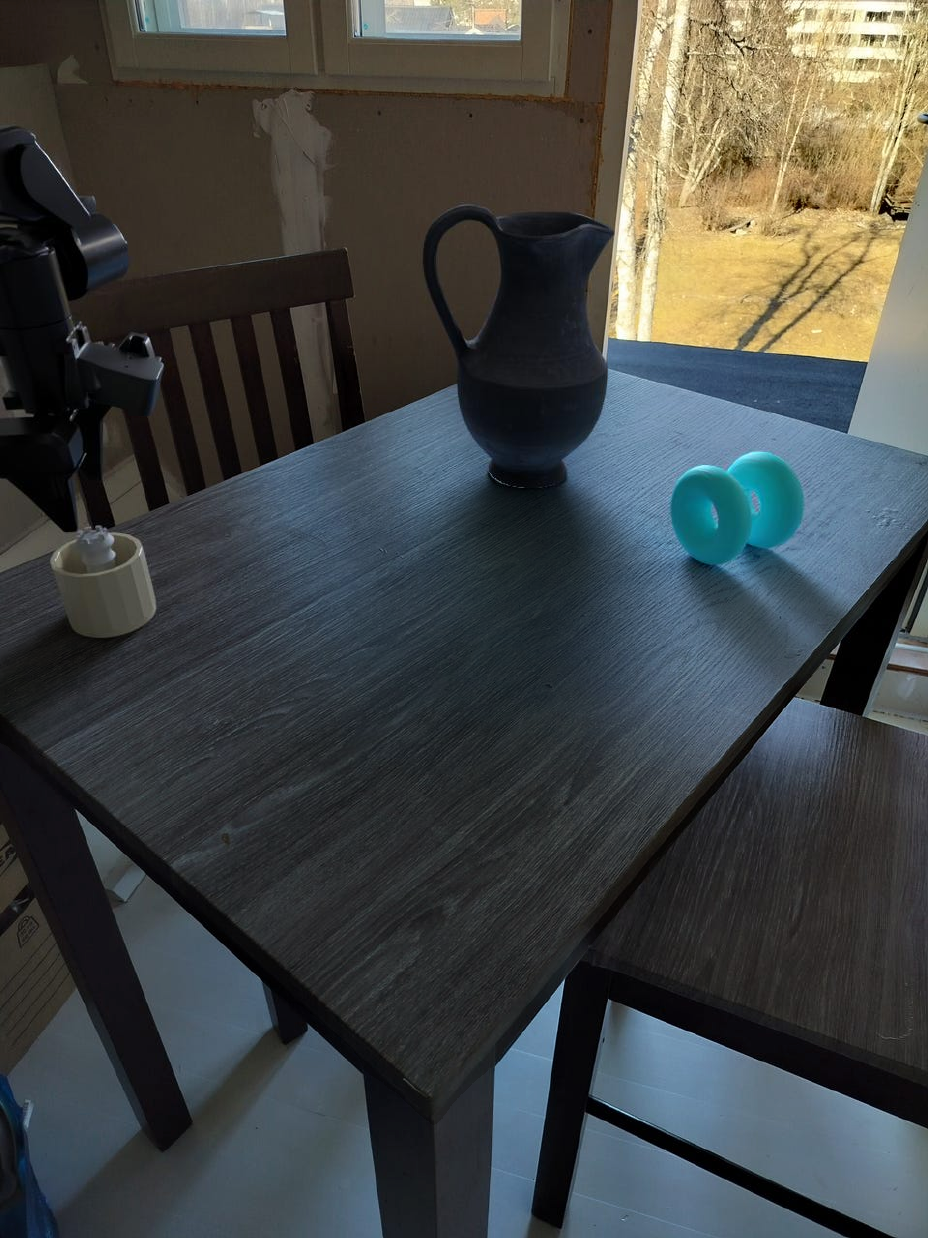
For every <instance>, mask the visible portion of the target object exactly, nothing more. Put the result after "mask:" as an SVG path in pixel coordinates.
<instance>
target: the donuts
mask: <svg viewBox="0 0 928 1238" xmlns="http://www.w3.org/2000/svg"><path fill="white" fill-rule="evenodd" d="M752 492H753V493H754V494H755V496H756V497H757V499H758V503H759V511H758V512H757V510H756V508H755V506H754V504H753V498H752ZM669 505H670V506H669V512H670V513H669V514H670V521H671V526H672V529H673V532H674V534H675V538H676V539H677V541H678V542H679V544H680V546H681V547H682V548H683V549H684V551H685V552H686V553H688V555H689V556H691V557H692V558H693V559H695V560H696V561H698V562H700V563H703V564H706V565H712V566H718V565H724V564H727V563H729V562H731V561H732V560H734V559H736V558H737V557H738V556H739V555H741V553H742V551H743V550H744V549H745V547H746V546H747V545H750V546H752V547H756V548H759V549H772V548H773V549H774V548H777V547H779V546H781V545H783V544H785V543H786V542H788V541H789V540H791V539H792V537H794V535H795V534H796V532H797V531H798V529H799V528H800V525H801V524H802V521H803V517H804V511H805V497H804V491H803V487H802V484H801V482H800V479H799V477H798V476H797V474H796V472H795V470H794V469H793V467H791V465H790V464H789V463H787V461H785V460H784V459H783V458H782V457H780V456H778V455H776V454H775V453H774V454H773V453H771V452H768V451H751V452H748V453H745V454H743V455H742V456H740V457H738V458H737V459H736V460H734V462H733V463H732V464H731V465H730V466H729V468H728V469H727V470H725V469H723V468H721V467H718V466H716V465H709V464H707V465H705V464H704V465H702V464H701V465H698V466H694V467H692V468H690V469H688V470H687V471H686V472H684V473H683V474H682V475H681V476H680V478H678V480H677V481H676V482H675V485H674V487H673V490H672V493H671V497H670V503H669ZM712 506H713V507H714V508H715V511H716V515H717V521H716V519H715V517H714V515H713V512H712V511H713V509H712Z"/></svg>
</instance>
